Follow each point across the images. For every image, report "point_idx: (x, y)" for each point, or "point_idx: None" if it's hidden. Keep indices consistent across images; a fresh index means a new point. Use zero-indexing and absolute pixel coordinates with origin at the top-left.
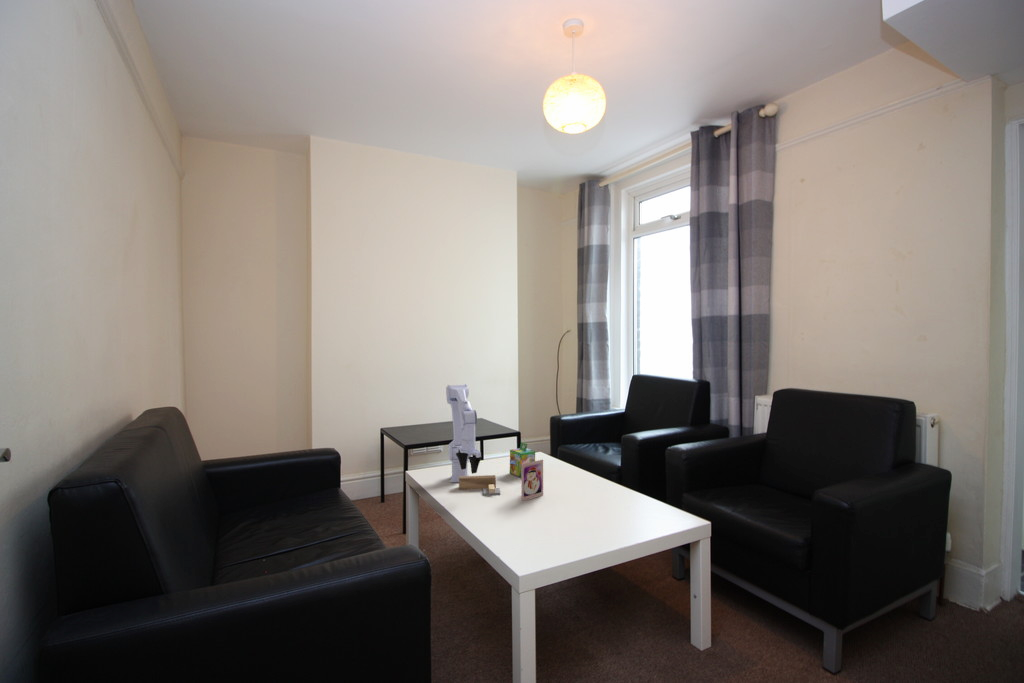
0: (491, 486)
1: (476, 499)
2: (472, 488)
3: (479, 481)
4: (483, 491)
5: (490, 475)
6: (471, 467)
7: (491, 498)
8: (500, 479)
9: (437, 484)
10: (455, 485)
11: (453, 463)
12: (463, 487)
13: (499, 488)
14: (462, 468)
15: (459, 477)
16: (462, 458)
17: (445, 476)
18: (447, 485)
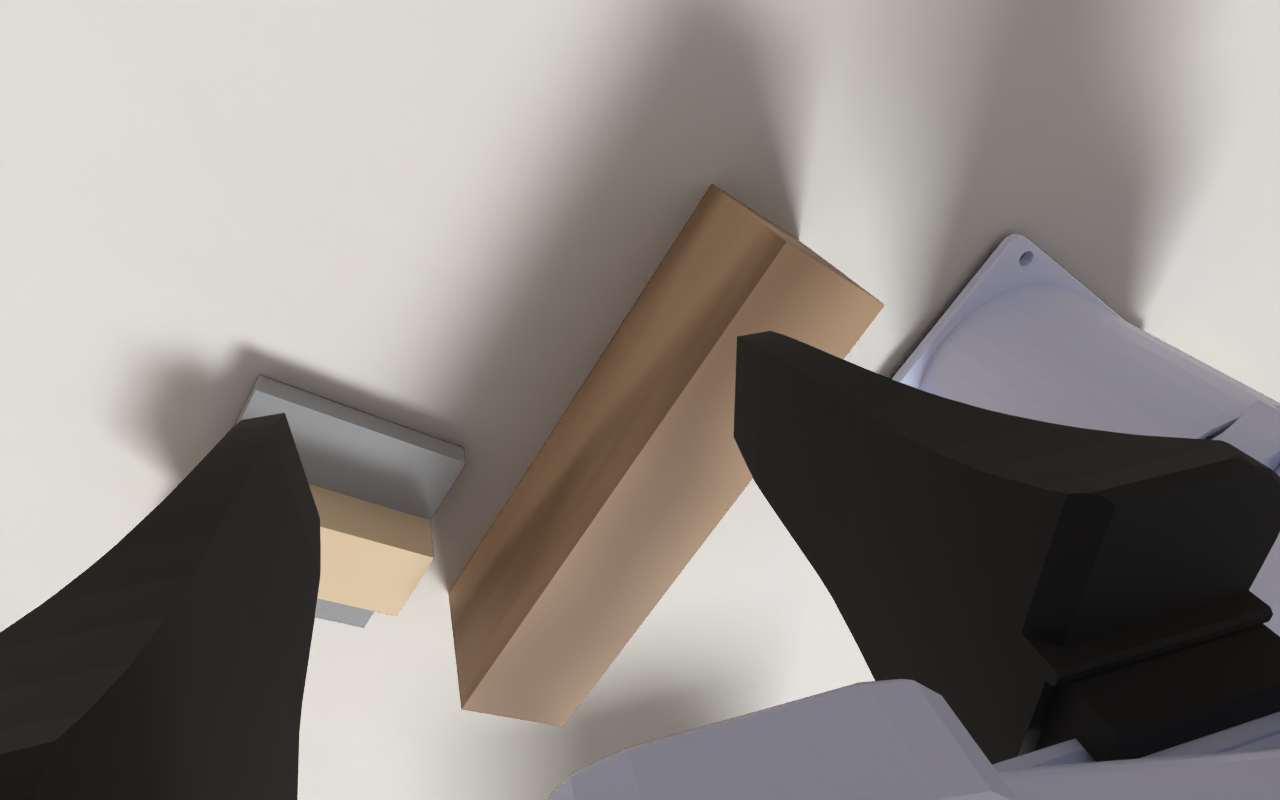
0: (323, 562)
1: (103, 190)
2: (607, 358)
3: (574, 495)
4: (383, 427)
5: (591, 678)
6: (198, 503)
7: (45, 411)
8: (678, 705)
9: (1114, 29)
10: (888, 230)
11: (1232, 405)
12: (685, 254)
13: (347, 623)
14: (747, 358)
15: (838, 284)
16: (900, 534)
17: (1207, 282)
18: (972, 134)
